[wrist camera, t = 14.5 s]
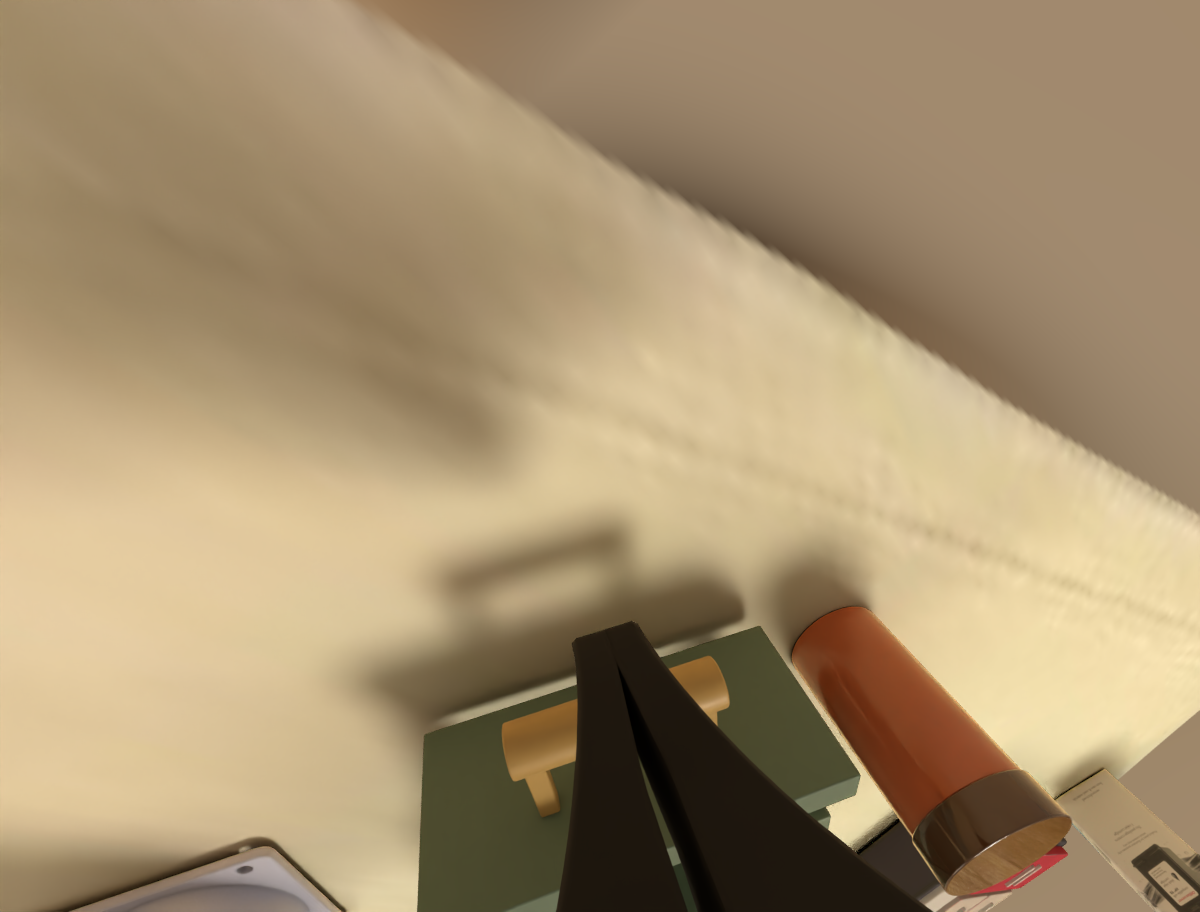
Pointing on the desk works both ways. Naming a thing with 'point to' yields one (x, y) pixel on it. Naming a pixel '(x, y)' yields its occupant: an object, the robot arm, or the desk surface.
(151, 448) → the desk surface
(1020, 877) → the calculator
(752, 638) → the drawer
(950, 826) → the spice jar
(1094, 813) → the ink box
